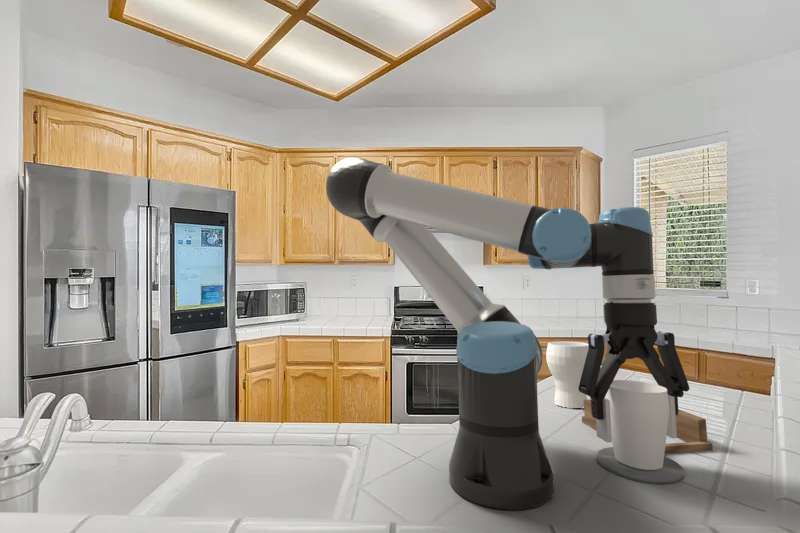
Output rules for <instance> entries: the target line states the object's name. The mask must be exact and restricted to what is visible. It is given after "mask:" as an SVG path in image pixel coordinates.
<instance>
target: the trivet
mask: <svg viewBox="0 0 800 533" xmlns="http://www.w3.org/2000/svg"><path fill="white" fill-rule="evenodd" d="M596 461H597V463H598V465H599V466H600V467H601V468H603V469H604V470H605V471H607V472H610V473H611V474H613V475H615V476H618V477H621V478H624V479H627V480H630V481H633V482H634V481H635V482H638V483H644V484H651V485H671V484H676V483H678V482H681V481H682V480H683V479H684V478H685V470H684V468H683V466H682V465H680V464H679V462H677V461H675V460H673V459H672V458H669V457H667V456H665V455H664V461H663V467H662V468H660V469H657V470H643V469H637V468H633V467H630V466H627V465H625V464H623V463H621V462H619V461H618V460H617V459H616V458H615V455H614V449H613V446H610V447H605V448H602V449H600V450H597V452H596Z"/></svg>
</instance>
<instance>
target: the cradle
mask: <svg viewBox="0 0 800 533" xmlns="http://www.w3.org/2000/svg"><path fill="white" fill-rule="evenodd" d="M591 411H592V410H591V399H587V400H584V408H583V412H584V413H583V414H584V415H583V416H581V422H582V423H583V424H584V425H586V426H588V427H590V428H591V429H593V430H595V431H597V429H596V418H594V417H593V416H592V413H591ZM707 429H708V428H707V419H705V418H703V417H701V416H699V415H695V414H693V413H690V412H688V411H684V410H681V409H679V408H678V415H676V431H677V438H676V439H679V440H681V441H683V442H674V443H666V444H665V452H664V455H666V454H677V453H680V454H681V453H691V452H707V451H714V445H713V442H711V441H708V432H707Z"/></svg>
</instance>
